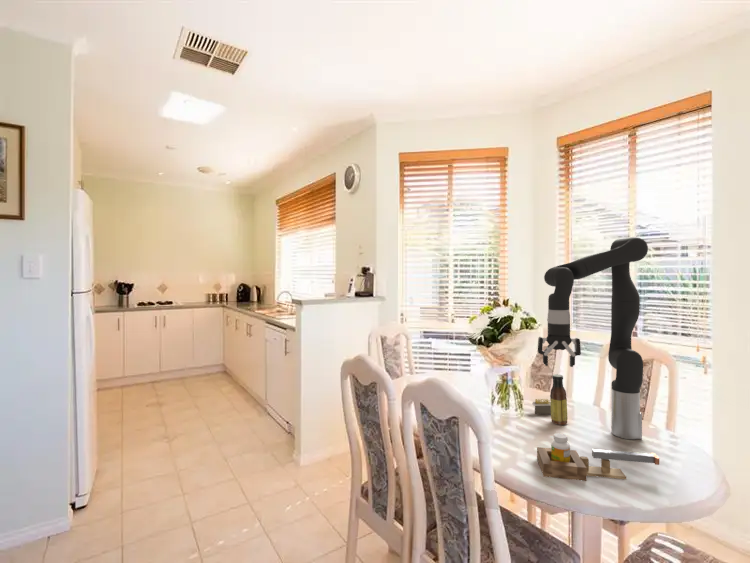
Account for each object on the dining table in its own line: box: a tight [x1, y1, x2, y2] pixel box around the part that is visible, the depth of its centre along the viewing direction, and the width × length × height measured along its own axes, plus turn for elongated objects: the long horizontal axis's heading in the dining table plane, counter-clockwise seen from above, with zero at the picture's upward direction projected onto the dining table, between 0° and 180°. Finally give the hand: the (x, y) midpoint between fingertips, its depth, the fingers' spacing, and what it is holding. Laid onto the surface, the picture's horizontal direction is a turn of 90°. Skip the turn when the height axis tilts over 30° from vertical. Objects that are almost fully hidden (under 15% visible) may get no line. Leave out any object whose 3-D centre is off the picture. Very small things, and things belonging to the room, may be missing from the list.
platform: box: [531, 398, 551, 415], centre depth 177 cm, size 12×18×7 cm, turn 90°
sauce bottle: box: [549, 373, 568, 426], centre depth 165 cm, size 7×6×20 cm
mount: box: [579, 455, 627, 480], centre depth 124 cm, size 12×5×4 cm, turn 77°
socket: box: [536, 446, 587, 482], centre depth 127 cm, size 12×12×4 cm
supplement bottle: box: [550, 432, 571, 463], centre depth 127 cm, size 5×5×10 cm
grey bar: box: [591, 448, 660, 466], centre depth 122 cm, size 18×4×2 cm, turn 77°
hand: (558, 366), depth 147 cm, fingers open, 8 cm apart
